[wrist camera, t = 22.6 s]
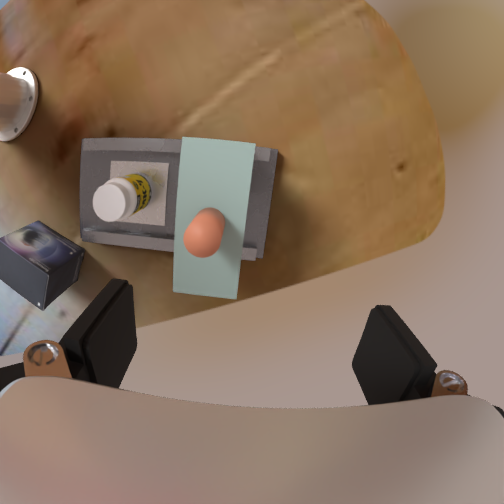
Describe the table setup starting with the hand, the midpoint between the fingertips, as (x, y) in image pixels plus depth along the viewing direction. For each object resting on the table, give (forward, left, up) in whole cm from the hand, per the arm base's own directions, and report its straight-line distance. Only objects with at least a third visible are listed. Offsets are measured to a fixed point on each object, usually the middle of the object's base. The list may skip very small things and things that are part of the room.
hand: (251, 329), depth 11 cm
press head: (-3, 0, -25) cm, 25 cm away
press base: (-10, 0, -28) cm, 30 cm away
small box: (-29, -10, -29) cm, 42 cm away
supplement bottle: (-14, 0, -27) cm, 30 cm away
